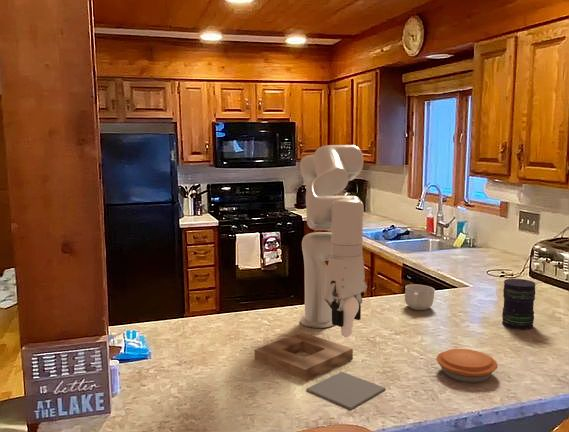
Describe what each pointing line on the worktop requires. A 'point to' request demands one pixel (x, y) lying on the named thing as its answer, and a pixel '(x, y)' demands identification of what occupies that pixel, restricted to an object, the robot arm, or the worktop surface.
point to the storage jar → (518, 304)
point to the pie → (466, 365)
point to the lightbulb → (349, 314)
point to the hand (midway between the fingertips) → (346, 321)
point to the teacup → (419, 296)
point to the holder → (304, 368)
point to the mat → (346, 390)
